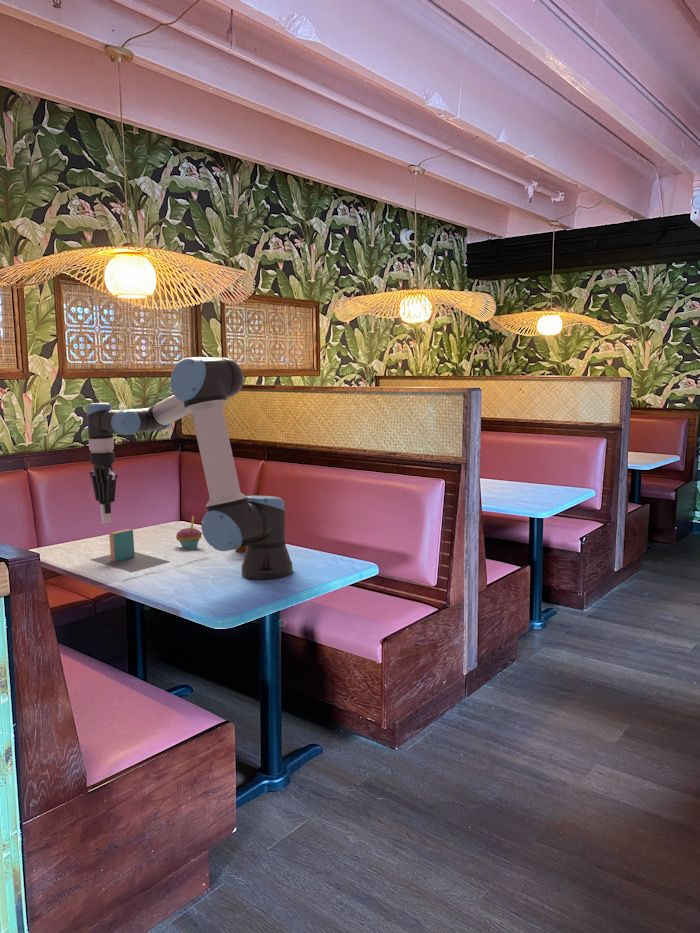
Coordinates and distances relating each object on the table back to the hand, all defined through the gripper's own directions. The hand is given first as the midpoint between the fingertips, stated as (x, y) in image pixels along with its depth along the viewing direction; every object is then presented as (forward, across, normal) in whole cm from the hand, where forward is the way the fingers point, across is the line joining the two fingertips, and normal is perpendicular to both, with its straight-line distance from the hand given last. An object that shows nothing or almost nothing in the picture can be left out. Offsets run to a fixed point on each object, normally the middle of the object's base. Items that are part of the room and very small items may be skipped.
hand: (106, 522), depth 224 cm
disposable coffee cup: (+12, -29, -33) cm, 46 cm away
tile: (+11, -8, 0) cm, 14 cm away
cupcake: (+12, -12, -23) cm, 29 cm away
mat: (+12, -12, 0) cm, 17 cm away
